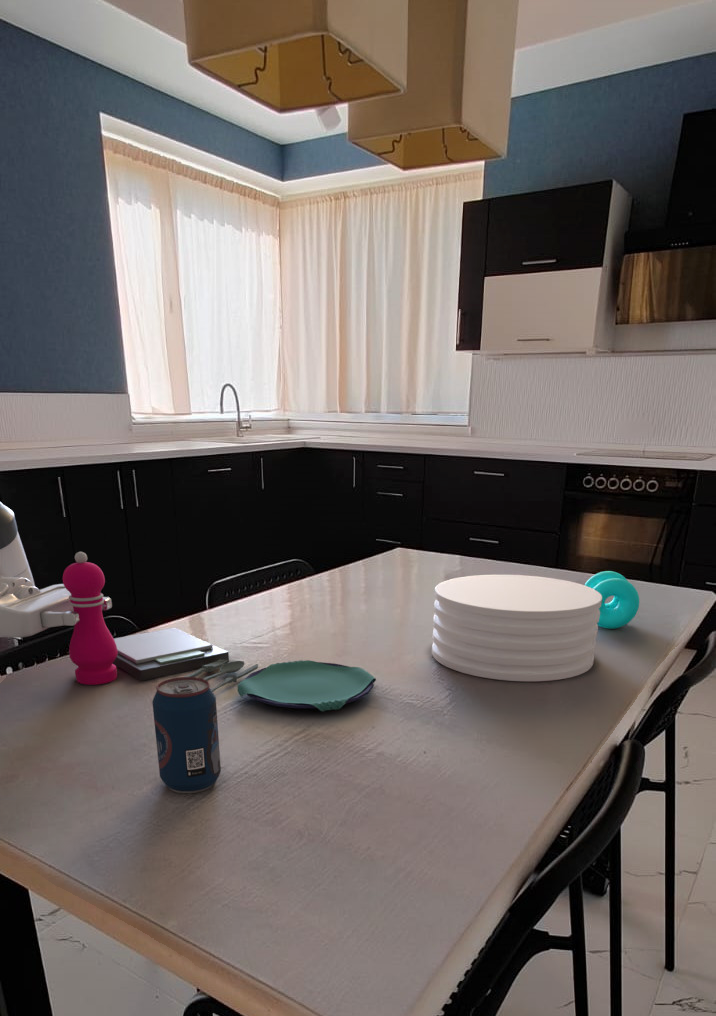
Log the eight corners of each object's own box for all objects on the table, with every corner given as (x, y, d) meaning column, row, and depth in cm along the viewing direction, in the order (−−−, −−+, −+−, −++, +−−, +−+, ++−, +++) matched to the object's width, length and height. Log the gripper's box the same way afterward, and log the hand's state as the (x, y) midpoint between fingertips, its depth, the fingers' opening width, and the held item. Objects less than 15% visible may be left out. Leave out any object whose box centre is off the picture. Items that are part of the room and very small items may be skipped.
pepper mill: (127, 672, 126) (113, 548, 118) (110, 687, 119) (93, 556, 111) (84, 670, 126) (67, 547, 118) (65, 685, 120) (45, 555, 112)
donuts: (625, 618, 160) (633, 570, 156) (636, 631, 151) (644, 580, 147) (577, 616, 161) (582, 569, 157) (584, 629, 152) (591, 579, 148)
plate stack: (475, 626, 154) (479, 568, 149) (614, 650, 139) (623, 587, 135) (402, 660, 133) (404, 594, 128) (558, 693, 118) (566, 620, 114)
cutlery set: (340, 727, 105) (340, 711, 104) (159, 695, 116) (158, 680, 115) (392, 683, 122) (393, 669, 121) (230, 658, 133) (230, 645, 132)
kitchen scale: (96, 654, 134) (94, 641, 133) (179, 638, 144) (178, 626, 143) (141, 681, 122) (140, 666, 121) (229, 662, 131) (228, 648, 130)
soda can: (155, 775, 91) (145, 679, 86) (213, 765, 94) (206, 672, 89) (167, 800, 85) (157, 699, 81) (228, 789, 88) (221, 691, 83)
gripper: (55, 609, 132) (129, 614, 129) (-25, 642, 114) (59, 649, 111) (49, 572, 129) (124, 577, 126) (-33, 600, 111) (52, 606, 108)
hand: (93, 611), depth 118 cm, fingers open, 8 cm apart
